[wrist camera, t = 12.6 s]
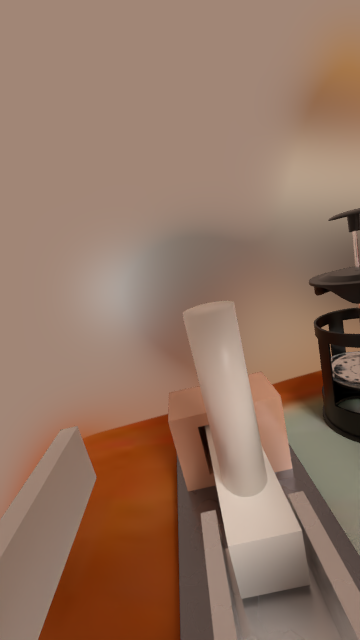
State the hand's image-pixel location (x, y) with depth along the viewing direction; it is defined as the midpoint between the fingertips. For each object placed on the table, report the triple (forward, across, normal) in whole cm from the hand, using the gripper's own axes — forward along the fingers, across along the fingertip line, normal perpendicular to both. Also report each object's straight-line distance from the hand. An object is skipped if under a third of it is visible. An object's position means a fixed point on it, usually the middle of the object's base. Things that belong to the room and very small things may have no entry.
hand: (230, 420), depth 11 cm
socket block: (+13, 0, -14) cm, 19 cm away
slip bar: (+7, 0, -12) cm, 14 cm away
